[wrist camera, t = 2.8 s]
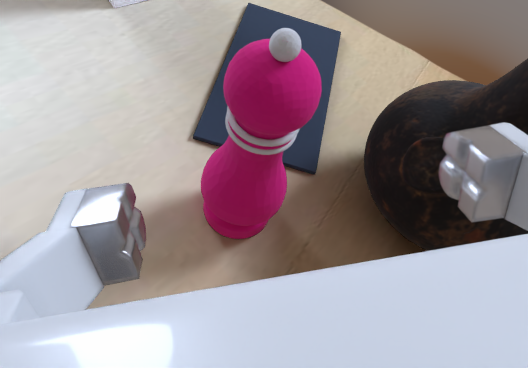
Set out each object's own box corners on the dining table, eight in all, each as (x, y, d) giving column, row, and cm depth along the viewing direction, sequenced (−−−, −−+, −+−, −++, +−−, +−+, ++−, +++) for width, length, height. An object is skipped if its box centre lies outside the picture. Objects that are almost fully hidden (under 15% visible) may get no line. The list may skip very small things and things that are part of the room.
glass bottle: (315, 156, 43) (484, -172, 20) (437, 121, 50) (671, -156, 27) (409, 314, 36) (848, 86, 13) (538, 248, 43) (980, 19, 19)
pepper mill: (254, 168, 41) (312, -17, 24) (287, 229, 38) (379, 66, 22) (186, 189, 38) (199, -4, 22) (216, 256, 35) (258, 94, 19)
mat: (314, 174, 42) (316, 172, 42) (192, 138, 41) (193, 135, 41) (339, 34, 55) (341, 31, 55) (247, 5, 55) (248, 2, 54)
